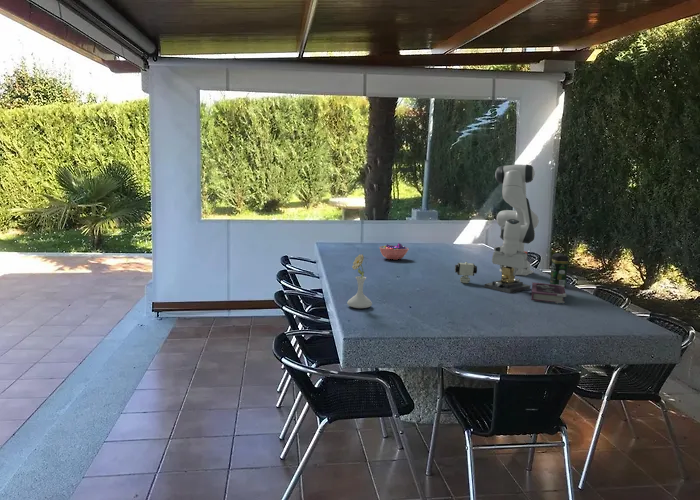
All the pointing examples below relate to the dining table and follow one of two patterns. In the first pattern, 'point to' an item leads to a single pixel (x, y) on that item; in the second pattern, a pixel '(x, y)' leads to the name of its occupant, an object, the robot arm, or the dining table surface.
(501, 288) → the plate
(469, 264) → the pneumatic valve
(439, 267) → the dining table surface
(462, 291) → the dining table surface
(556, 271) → the coffee jar
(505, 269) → the brass valve
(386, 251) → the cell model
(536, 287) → the book
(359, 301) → the flower in vase
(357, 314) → the dining table surface
